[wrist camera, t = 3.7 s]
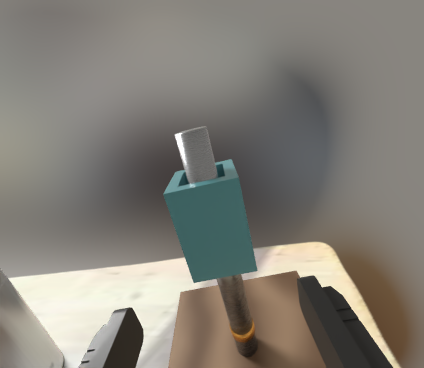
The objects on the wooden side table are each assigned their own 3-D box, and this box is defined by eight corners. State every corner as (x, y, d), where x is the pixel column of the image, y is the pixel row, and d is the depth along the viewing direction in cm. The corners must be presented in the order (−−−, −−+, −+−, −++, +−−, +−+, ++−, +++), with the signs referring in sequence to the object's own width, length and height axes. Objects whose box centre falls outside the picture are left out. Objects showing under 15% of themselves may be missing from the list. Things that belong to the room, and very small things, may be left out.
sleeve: (193, 282, 17) (163, 194, 14) (197, 243, 22) (175, 171, 19) (257, 270, 16) (238, 177, 14) (246, 233, 21) (231, 159, 19)
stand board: (153, 501, 16) (147, 493, 15) (183, 299, 33) (180, 292, 32) (397, 475, 15) (399, 465, 14) (297, 278, 31) (296, 270, 31)
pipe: (236, 359, 22) (170, 136, 14) (234, 334, 24) (176, 132, 16) (261, 355, 22) (207, 127, 14) (256, 331, 24) (208, 125, 16)
